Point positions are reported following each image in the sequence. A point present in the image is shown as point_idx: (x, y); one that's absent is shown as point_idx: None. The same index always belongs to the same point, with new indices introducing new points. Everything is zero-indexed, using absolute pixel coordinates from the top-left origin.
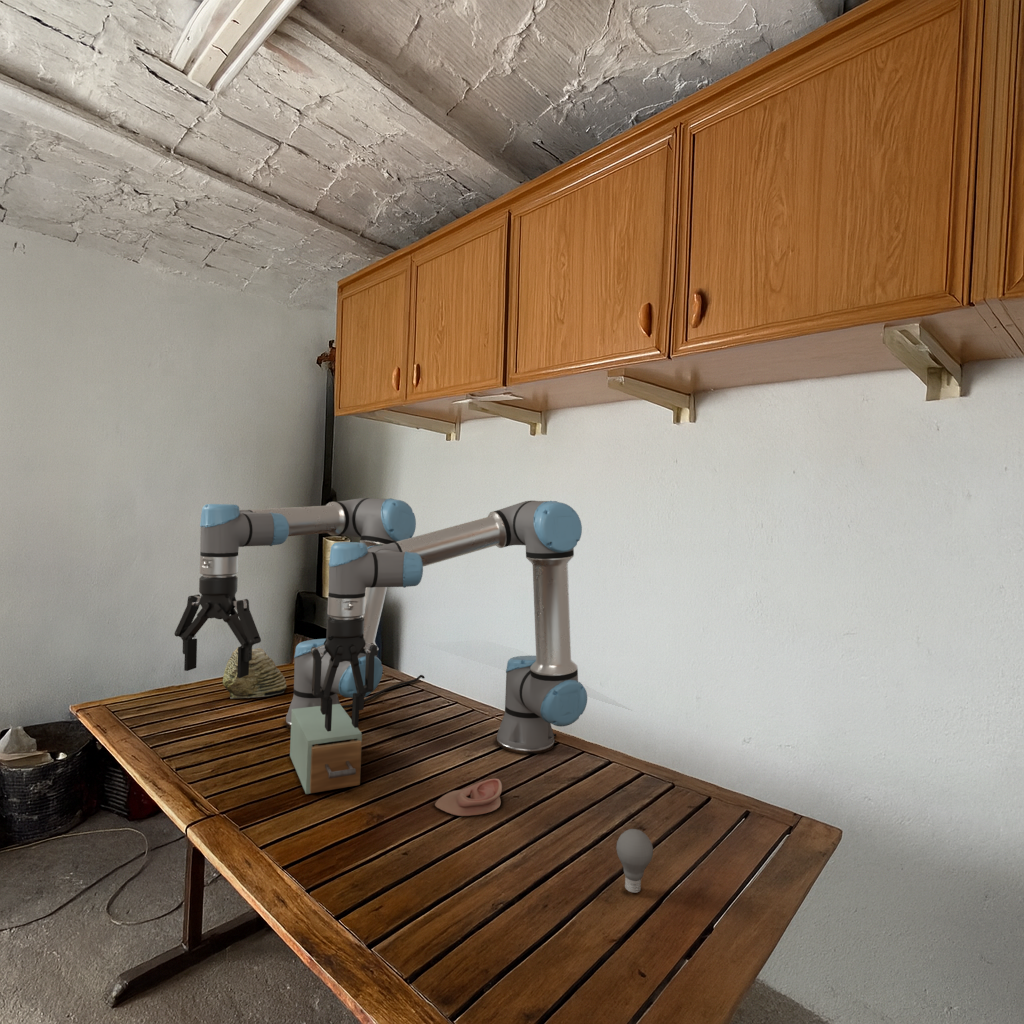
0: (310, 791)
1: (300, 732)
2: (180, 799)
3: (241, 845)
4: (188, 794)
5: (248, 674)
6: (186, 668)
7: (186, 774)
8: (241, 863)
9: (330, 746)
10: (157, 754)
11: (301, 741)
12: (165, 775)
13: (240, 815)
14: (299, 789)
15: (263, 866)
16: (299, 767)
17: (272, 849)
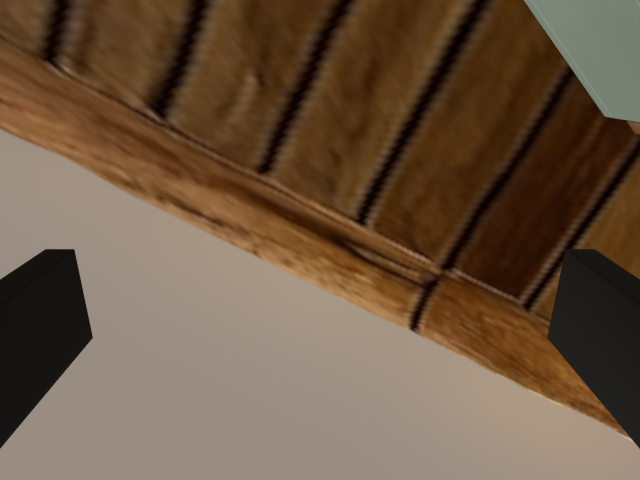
0: (634, 130)
1: (633, 2)
2: (310, 249)
3: None
4: (308, 223)
5: (594, 251)
6: (76, 347)
7: (210, 130)
8: (590, 393)
9: None
10: (3, 39)
11: (630, 30)
12: (164, 156)
13: (493, 263)
14: (574, 95)
15: None
16: (559, 23)
17: None
